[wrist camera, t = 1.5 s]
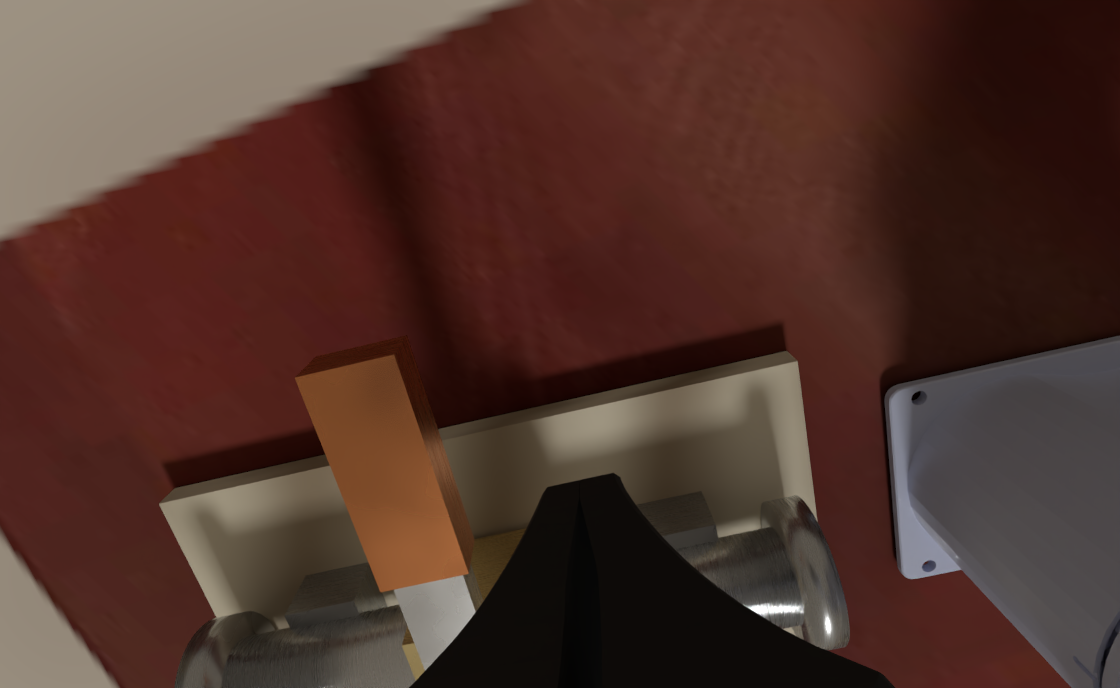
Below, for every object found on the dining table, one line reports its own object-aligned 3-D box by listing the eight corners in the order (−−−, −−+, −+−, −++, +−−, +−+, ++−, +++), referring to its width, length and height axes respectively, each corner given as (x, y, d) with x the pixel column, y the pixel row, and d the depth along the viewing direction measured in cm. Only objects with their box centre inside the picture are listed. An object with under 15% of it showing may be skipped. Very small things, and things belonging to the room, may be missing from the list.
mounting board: (786, 350, 22) (797, 361, 21) (822, 627, 26) (832, 647, 25) (174, 488, 23) (158, 503, 22) (295, 732, 27) (286, 755, 26)
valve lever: (557, 766, 17) (557, 810, 16) (471, 782, 18) (466, 827, 16) (415, 332, 13) (404, 352, 12) (306, 358, 14) (284, 380, 12)
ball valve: (780, 466, 22) (867, 592, 16) (795, 574, 23) (880, 727, 18) (228, 584, 23) (118, 743, 17) (276, 680, 25) (189, 858, 19)
